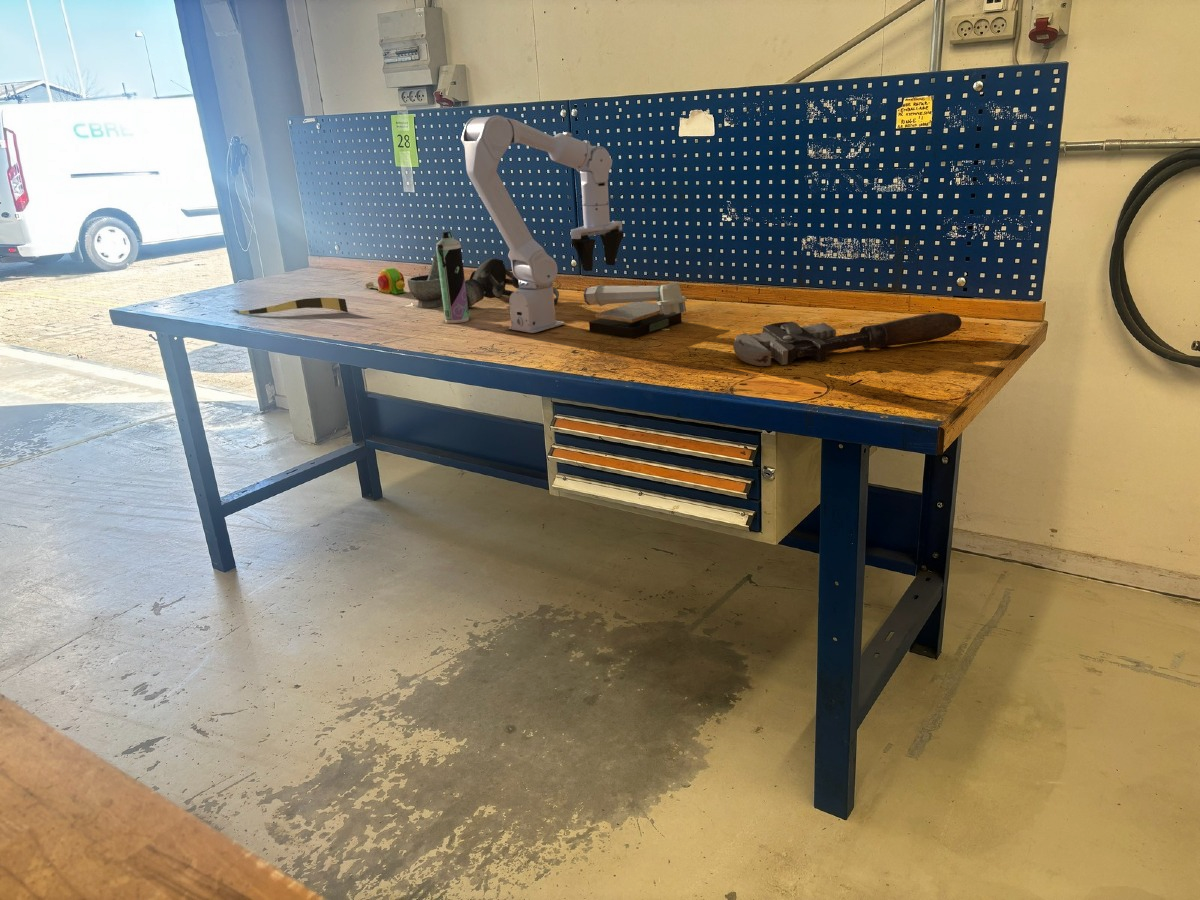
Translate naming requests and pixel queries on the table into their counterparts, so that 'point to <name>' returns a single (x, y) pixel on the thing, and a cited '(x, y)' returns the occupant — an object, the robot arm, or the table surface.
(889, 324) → the pipe wrench
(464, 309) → the spray can
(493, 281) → the respirator mask
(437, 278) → the mortar and pestle
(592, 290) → the pale grey handled tool
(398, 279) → the toy measuring tape
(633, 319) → the pan
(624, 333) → the scale
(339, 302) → the tape
